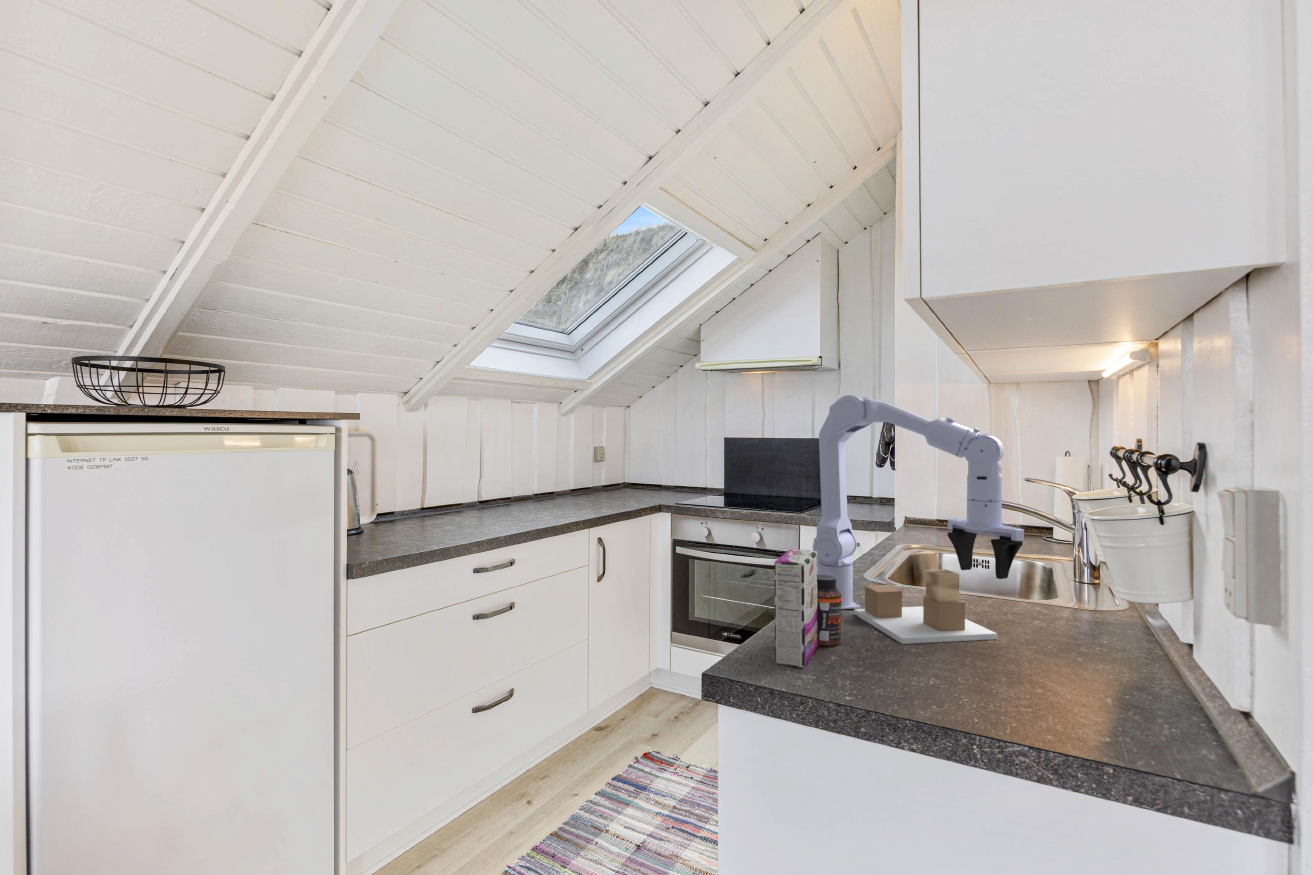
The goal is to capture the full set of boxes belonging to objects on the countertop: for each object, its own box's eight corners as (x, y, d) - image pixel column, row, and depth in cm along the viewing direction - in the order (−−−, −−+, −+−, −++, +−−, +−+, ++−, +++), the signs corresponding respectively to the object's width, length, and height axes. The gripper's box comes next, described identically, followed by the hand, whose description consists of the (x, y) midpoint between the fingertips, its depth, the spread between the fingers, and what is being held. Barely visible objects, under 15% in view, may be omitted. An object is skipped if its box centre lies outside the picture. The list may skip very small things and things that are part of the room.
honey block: (925, 596, 118) (925, 569, 118) (945, 595, 118) (945, 569, 118) (938, 602, 114) (939, 574, 114) (959, 601, 114) (959, 573, 114)
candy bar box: (789, 642, 110) (789, 548, 110) (818, 647, 108) (819, 550, 108) (772, 664, 100) (773, 559, 100) (804, 669, 98) (805, 562, 97)
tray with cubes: (854, 614, 127) (854, 584, 127) (937, 610, 130) (937, 581, 130) (902, 643, 110) (902, 608, 109) (997, 639, 112) (997, 605, 112)
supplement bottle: (833, 649, 106) (833, 582, 106) (799, 642, 110) (800, 577, 110) (846, 640, 111) (846, 576, 111) (814, 634, 115) (814, 571, 115)
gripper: (936, 497, 122) (935, 567, 122) (1004, 505, 109) (1003, 584, 109) (962, 495, 125) (962, 564, 125) (1032, 503, 112) (1031, 580, 112)
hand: (983, 573), depth 117 cm, fingers open, 7 cm apart
